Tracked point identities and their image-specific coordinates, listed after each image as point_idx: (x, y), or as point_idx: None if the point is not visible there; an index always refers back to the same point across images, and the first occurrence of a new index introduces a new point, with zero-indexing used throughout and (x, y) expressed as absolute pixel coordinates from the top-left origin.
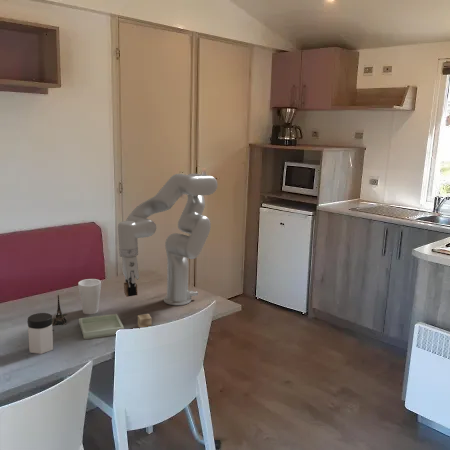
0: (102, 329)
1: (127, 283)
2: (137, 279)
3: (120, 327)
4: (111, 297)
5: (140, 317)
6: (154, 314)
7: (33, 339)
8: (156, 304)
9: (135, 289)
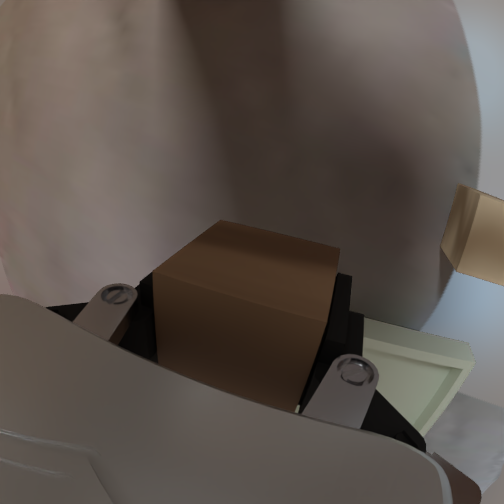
0: (422, 429)
1: (196, 375)
2: (410, 456)
3: (465, 374)
4: (63, 206)
5: (493, 273)
6: (344, 79)
7: None
8: (202, 21)
9: (346, 318)
